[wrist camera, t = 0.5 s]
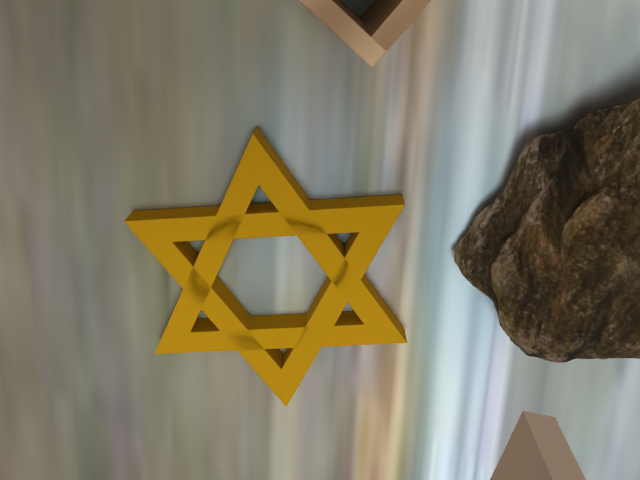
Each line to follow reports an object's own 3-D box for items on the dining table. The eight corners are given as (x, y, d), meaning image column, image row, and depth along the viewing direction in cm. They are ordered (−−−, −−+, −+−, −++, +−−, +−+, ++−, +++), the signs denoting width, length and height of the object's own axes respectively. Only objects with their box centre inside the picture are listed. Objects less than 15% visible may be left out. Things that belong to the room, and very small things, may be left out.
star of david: (118, 134, 36) (104, 143, 34) (400, 115, 35) (404, 124, 33) (175, 391, 44) (167, 411, 42) (404, 381, 43) (408, 401, 41)
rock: (671, 69, 37) (438, 98, 36) (810, 56, 27) (500, 95, 26) (665, 333, 41) (457, 365, 40) (785, 400, 31) (516, 444, 31)
